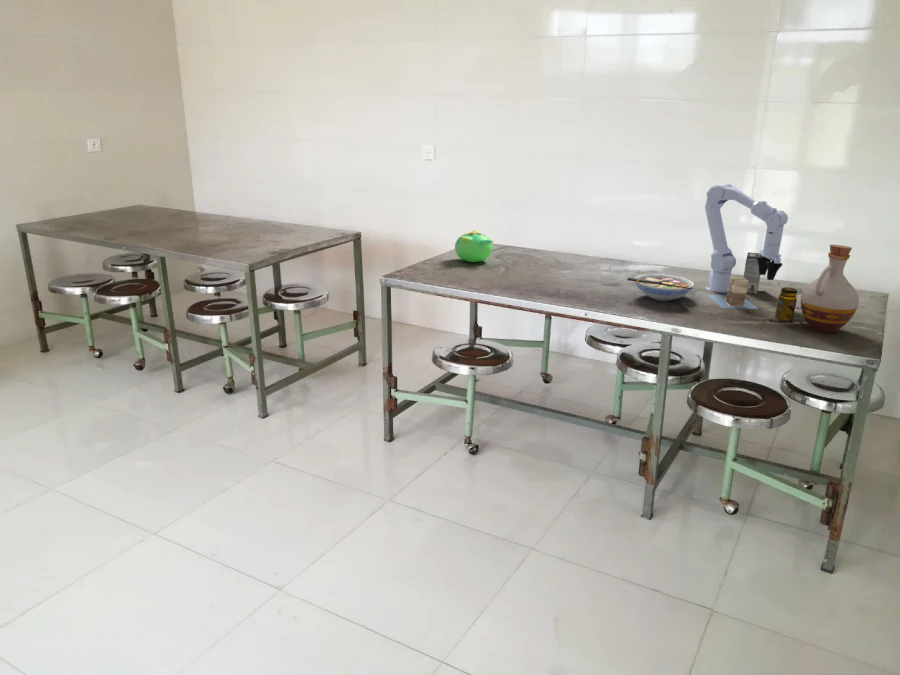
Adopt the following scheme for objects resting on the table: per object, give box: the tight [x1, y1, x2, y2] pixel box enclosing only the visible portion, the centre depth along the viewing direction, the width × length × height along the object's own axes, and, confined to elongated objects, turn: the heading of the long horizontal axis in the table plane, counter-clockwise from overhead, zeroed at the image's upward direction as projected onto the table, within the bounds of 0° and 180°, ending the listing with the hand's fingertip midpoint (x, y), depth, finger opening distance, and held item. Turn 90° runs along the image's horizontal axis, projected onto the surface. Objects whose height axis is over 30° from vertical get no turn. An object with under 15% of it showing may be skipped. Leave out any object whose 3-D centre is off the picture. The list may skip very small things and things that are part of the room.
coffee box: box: [742, 251, 762, 294], centre depth 280 cm, size 9×6×16 cm
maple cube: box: [728, 276, 748, 294], centre depth 260 cm, size 5×5×5 cm
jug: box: [800, 243, 860, 334], centre depth 233 cm, size 20×18×30 cm
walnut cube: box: [726, 290, 747, 306], centre depth 262 cm, size 5×5×5 cm
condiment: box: [770, 286, 798, 325], centre depth 246 cm, size 7×8×12 cm
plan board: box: [706, 294, 759, 310], centre depth 266 cm, size 18×14×1 cm
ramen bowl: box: [626, 273, 695, 302], centre depth 270 cm, size 25×23×8 cm
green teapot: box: [454, 229, 494, 263], centre depth 322 cm, size 18×17×15 cm
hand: (766, 277), depth 265 cm, fingers open, 7 cm apart
